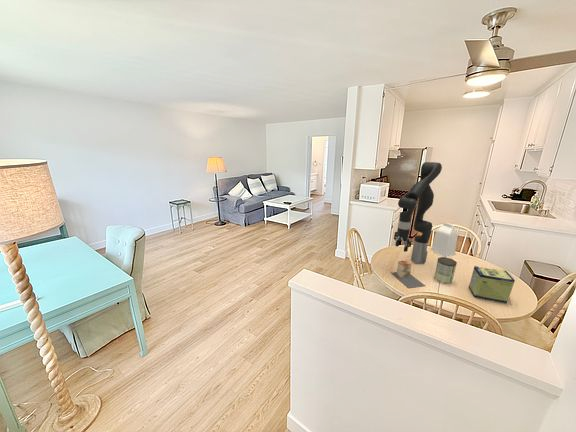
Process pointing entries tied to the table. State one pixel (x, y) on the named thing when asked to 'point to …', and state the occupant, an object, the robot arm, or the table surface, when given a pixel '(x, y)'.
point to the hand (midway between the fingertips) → (401, 248)
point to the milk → (445, 240)
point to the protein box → (491, 284)
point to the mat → (409, 281)
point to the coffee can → (445, 270)
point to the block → (404, 268)
